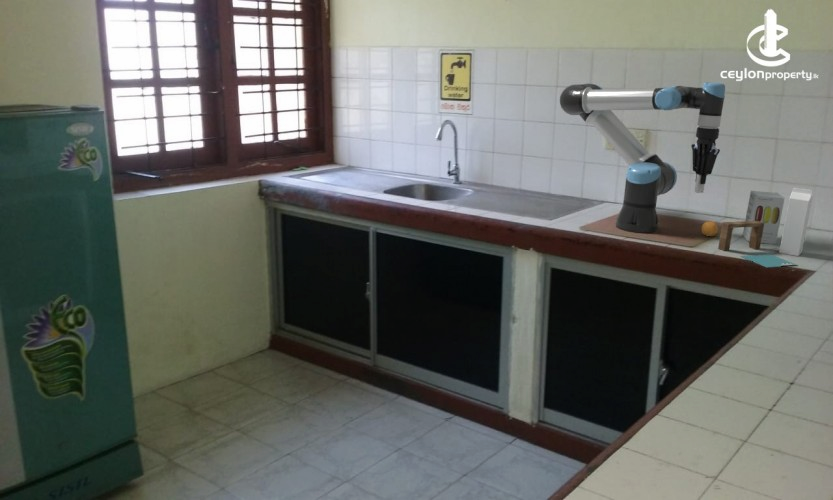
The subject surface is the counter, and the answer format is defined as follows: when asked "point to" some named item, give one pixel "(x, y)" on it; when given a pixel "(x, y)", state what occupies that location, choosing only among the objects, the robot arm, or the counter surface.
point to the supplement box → (764, 214)
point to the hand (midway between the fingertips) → (698, 192)
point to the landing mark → (767, 260)
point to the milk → (796, 221)
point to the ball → (709, 228)
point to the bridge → (728, 227)
